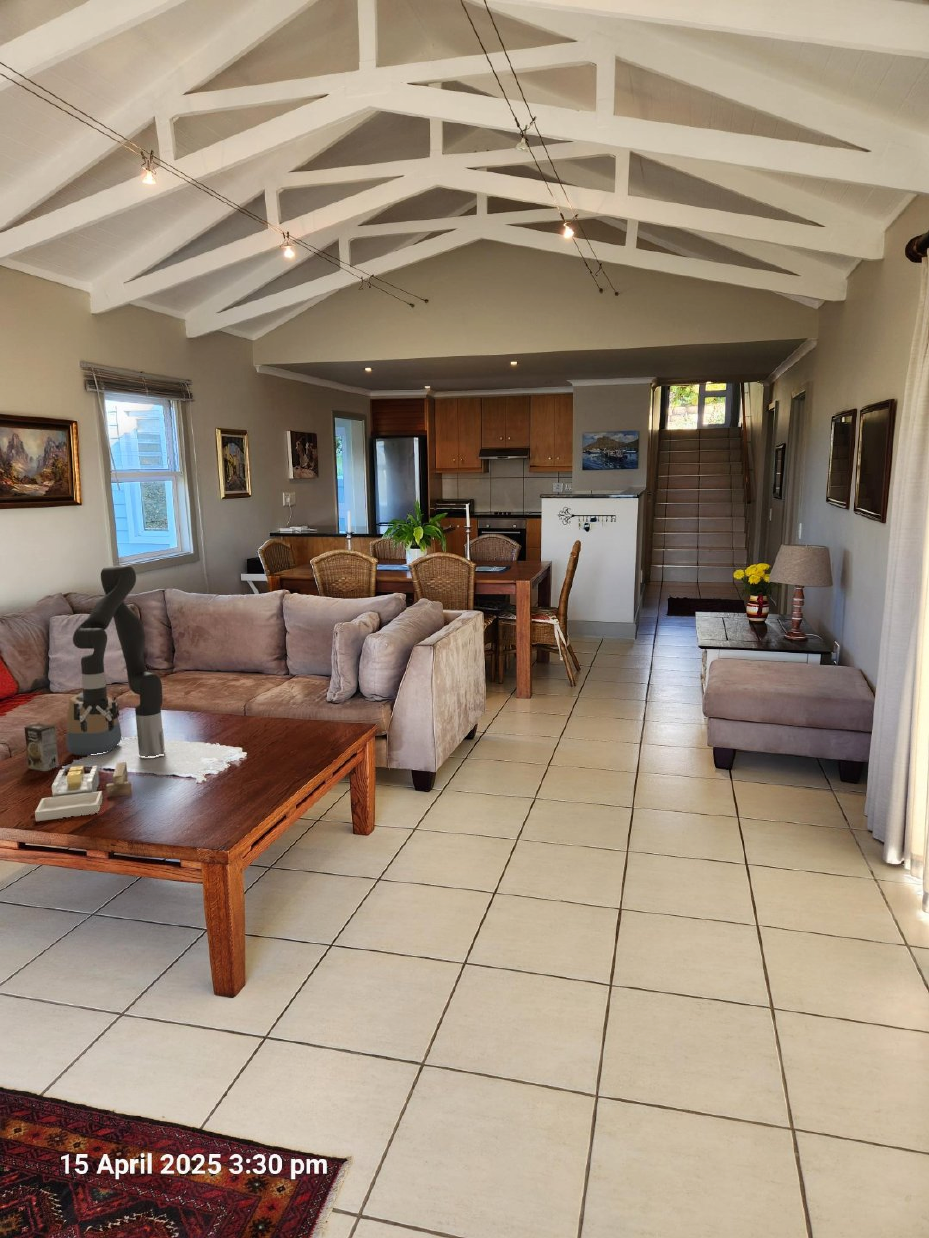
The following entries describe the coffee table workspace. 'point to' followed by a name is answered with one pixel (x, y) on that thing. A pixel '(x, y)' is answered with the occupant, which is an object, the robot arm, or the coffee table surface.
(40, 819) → the tray
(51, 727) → the coffee box
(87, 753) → the two-tone rounded housing
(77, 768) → the block
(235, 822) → the coffee table surface
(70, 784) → the block
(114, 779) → the beige wedge bookend
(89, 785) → the channel
